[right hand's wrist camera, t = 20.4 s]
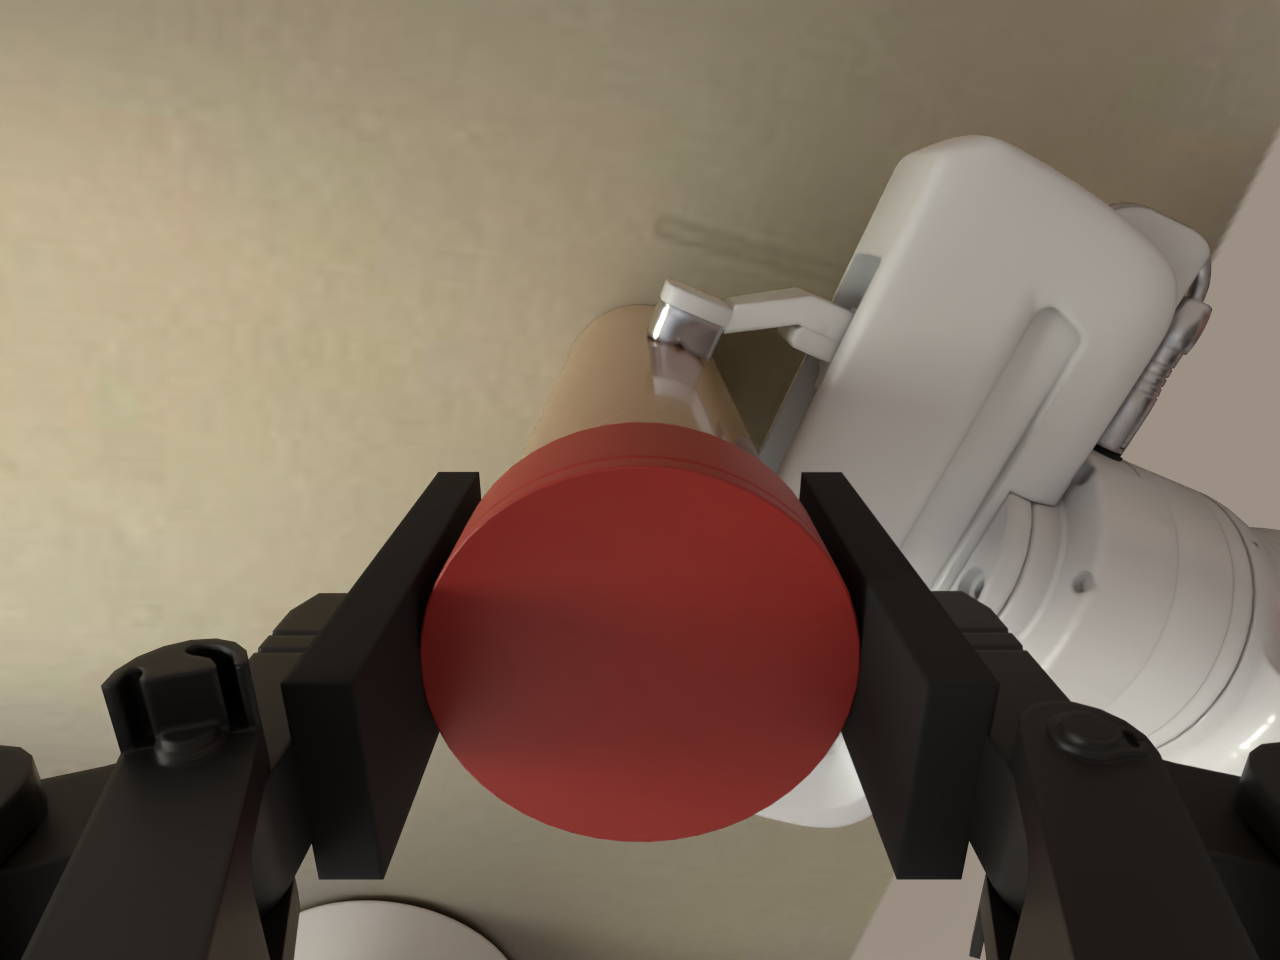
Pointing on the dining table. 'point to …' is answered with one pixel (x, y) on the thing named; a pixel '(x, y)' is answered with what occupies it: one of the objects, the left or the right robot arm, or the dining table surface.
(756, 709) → the lid
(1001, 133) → the dining table surface
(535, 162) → the dining table surface
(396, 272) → the dining table surface
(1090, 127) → the dining table surface
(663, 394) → the jar
